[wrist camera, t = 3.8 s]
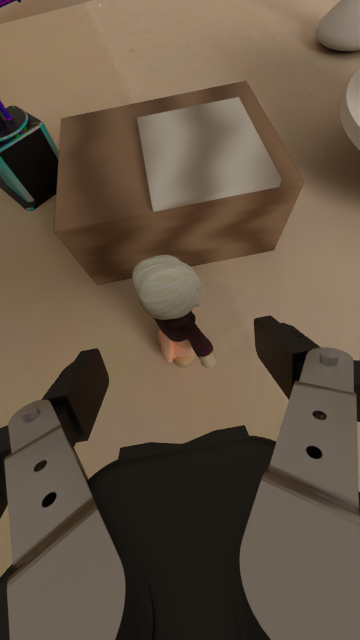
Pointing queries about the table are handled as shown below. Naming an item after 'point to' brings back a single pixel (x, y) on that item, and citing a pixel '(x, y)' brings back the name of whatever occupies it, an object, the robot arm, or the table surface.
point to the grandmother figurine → (173, 308)
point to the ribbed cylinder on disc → (352, 109)
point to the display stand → (172, 182)
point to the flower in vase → (341, 27)
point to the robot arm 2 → (26, 156)
